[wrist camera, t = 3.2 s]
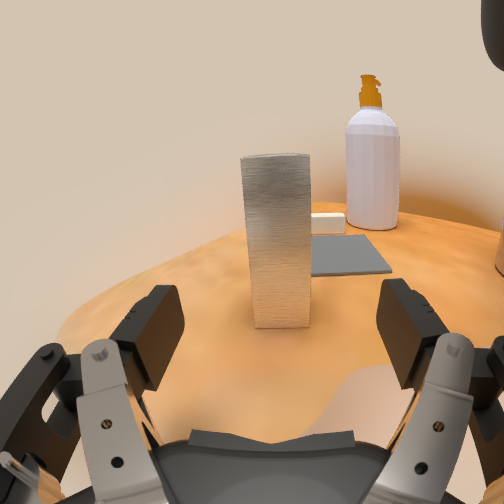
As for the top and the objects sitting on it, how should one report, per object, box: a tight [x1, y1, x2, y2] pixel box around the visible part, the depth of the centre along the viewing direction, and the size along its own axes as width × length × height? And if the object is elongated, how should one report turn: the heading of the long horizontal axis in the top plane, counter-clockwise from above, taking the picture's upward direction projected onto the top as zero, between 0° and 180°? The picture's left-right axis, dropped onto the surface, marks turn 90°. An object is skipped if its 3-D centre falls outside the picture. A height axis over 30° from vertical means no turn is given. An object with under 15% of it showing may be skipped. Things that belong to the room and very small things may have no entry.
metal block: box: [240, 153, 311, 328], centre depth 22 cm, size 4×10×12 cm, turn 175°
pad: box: [311, 235, 392, 276], centre depth 31 cm, size 9×11×1 cm
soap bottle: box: [346, 75, 400, 230], centre depth 37 cm, size 9×9×24 cm
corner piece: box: [311, 213, 345, 234], centre depth 34 cm, size 10×12×2 cm
